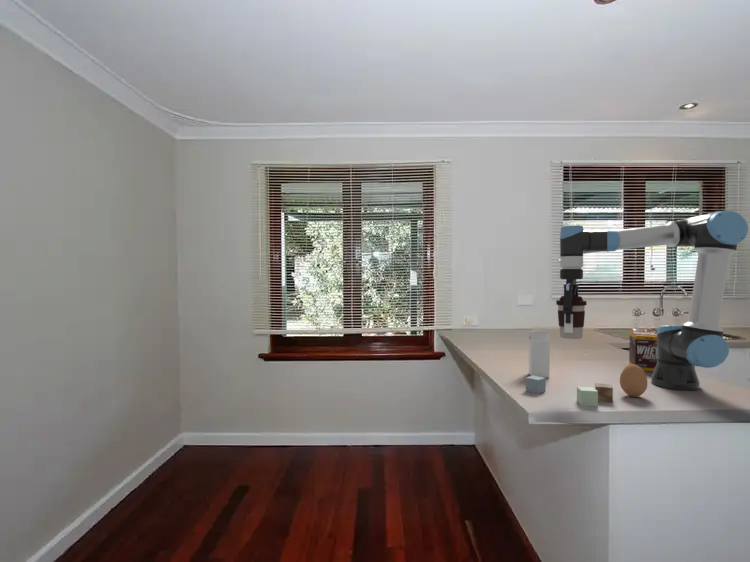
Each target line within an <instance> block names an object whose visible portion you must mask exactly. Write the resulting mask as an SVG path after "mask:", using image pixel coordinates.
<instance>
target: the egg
mask: <svg viewBox="0 0 750 562" xmlns="http://www.w3.org/2000/svg"><path fill="white" fill-rule="evenodd" d="M619 384H620V388H621V390H622V391H623V392H624V393H625V394H626V395H627V396H629V397H633V398H636V397H640V396H642V395H643V394H644V393H646V390H647V388H648V377H647V375H646V373H645V371H643V370H642V369H641V368H640V367H639V366H637V365H635V364H631V365H630V364H628V365H626V366H625V367H624V369H622V371H621V373H620V376H619Z"/></svg>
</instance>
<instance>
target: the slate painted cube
mask: <svg viewBox="0 0 750 562" xmlns="http://www.w3.org/2000/svg"><path fill="white" fill-rule="evenodd" d="M546 378H547V377H538V376H531V375H530V376H527V377H525V391H526V392H530V393H532V394H533V393H534V394H542V393H545V392H546V386H547V385H546Z"/></svg>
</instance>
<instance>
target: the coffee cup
mask: <svg viewBox="0 0 750 562" xmlns="http://www.w3.org/2000/svg"><path fill="white" fill-rule="evenodd" d="M555 302H556V303H555V304H556V305H557V319H558V320H557V321H558V327H559V336H560V338H562V339H568V340H569V339H571V340H580V339H582V338H583V334H584V333H583V331H584V328H585V327H584V325H585V316H586V315H585V314H586V312H585V311H586V310H585V309H586V308H585V306H587V302H588V301H587V300H584V299H583V297H582V296H581V295H580V296H579V295H578V296H575V297H573V302H572V306H573V309H572V314H573V333H567V332H564V314H562V311H563V302H564V295H561V296H560V298H559V299H556V301H555Z"/></svg>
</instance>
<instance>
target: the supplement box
mask: <svg viewBox="0 0 750 562" xmlns="http://www.w3.org/2000/svg"><path fill="white" fill-rule="evenodd" d="M628 339H629V347H628V348H629V350H628V351H629V352H628V354H629V355H628V357H629V358H628V360H629V361H628V362H629V364H628V365H631V364H635V365H637V366H639V367H640V368H641V369H642V370H643V371H644V372H652V373H653V372H654V369H655V367H656V364H657V332H655V331H635V330H634V331H632V330H631V331H629V338H628Z"/></svg>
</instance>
